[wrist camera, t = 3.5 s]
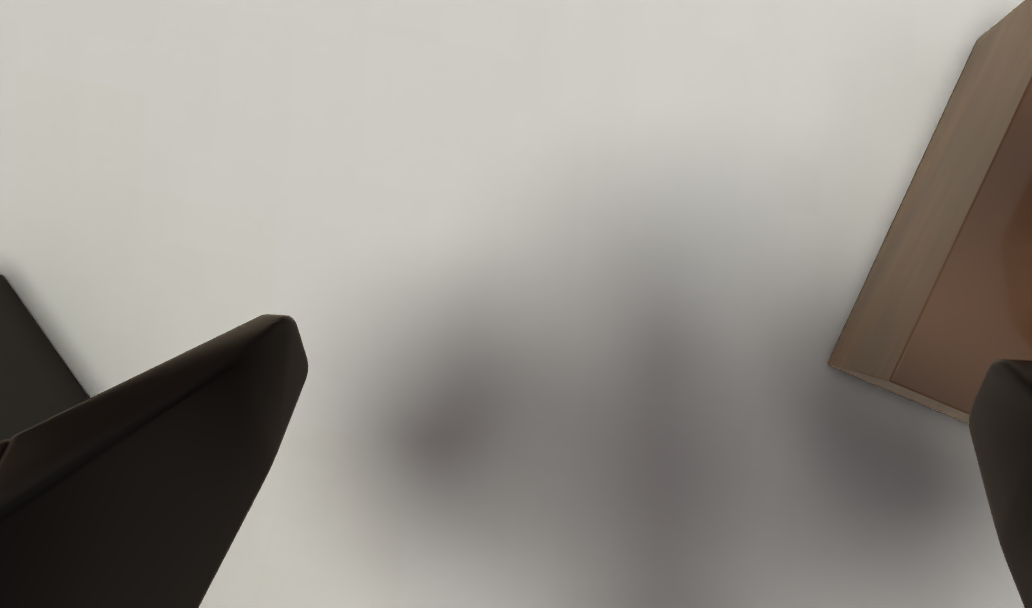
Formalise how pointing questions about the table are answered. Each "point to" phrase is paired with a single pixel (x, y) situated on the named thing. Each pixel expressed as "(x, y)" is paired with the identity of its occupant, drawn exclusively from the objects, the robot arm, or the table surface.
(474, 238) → the table surface
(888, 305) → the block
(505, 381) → the table surface
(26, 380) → the black button base
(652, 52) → the table surface
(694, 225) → the table surface
